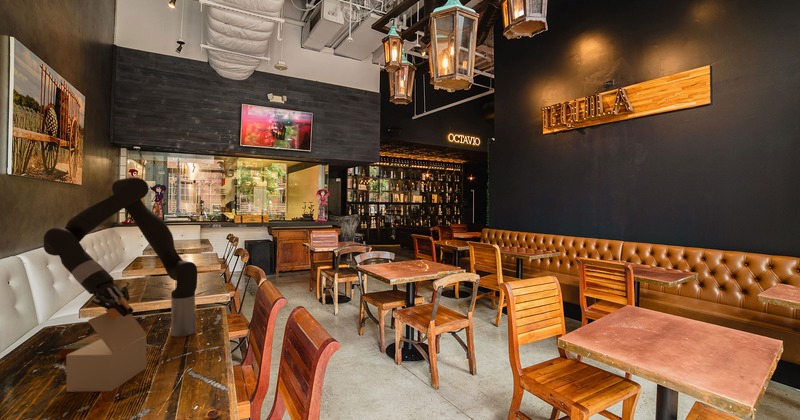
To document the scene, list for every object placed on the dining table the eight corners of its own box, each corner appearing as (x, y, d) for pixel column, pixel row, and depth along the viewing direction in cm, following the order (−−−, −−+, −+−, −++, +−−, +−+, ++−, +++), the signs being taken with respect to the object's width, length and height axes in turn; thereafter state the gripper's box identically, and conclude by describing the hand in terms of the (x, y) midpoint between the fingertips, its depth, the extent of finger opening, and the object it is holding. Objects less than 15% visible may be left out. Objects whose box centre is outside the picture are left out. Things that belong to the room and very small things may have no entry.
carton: (113, 343, 153) (113, 333, 153) (82, 359, 137) (82, 348, 137) (93, 343, 152) (93, 333, 152) (59, 359, 136) (59, 348, 136)
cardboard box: (146, 368, 129) (146, 336, 129) (111, 391, 113) (111, 354, 113) (107, 368, 129) (106, 336, 129) (66, 391, 113) (66, 355, 113)
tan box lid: (145, 335, 128) (161, 323, 128) (112, 353, 113) (131, 339, 113) (121, 304, 128) (138, 292, 128) (85, 318, 113) (104, 304, 113)
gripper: (83, 273, 113) (121, 312, 114) (116, 265, 127) (150, 300, 127) (66, 289, 113) (104, 328, 114) (101, 280, 127) (135, 315, 127)
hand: (128, 313), depth 121 cm, fingers closed
